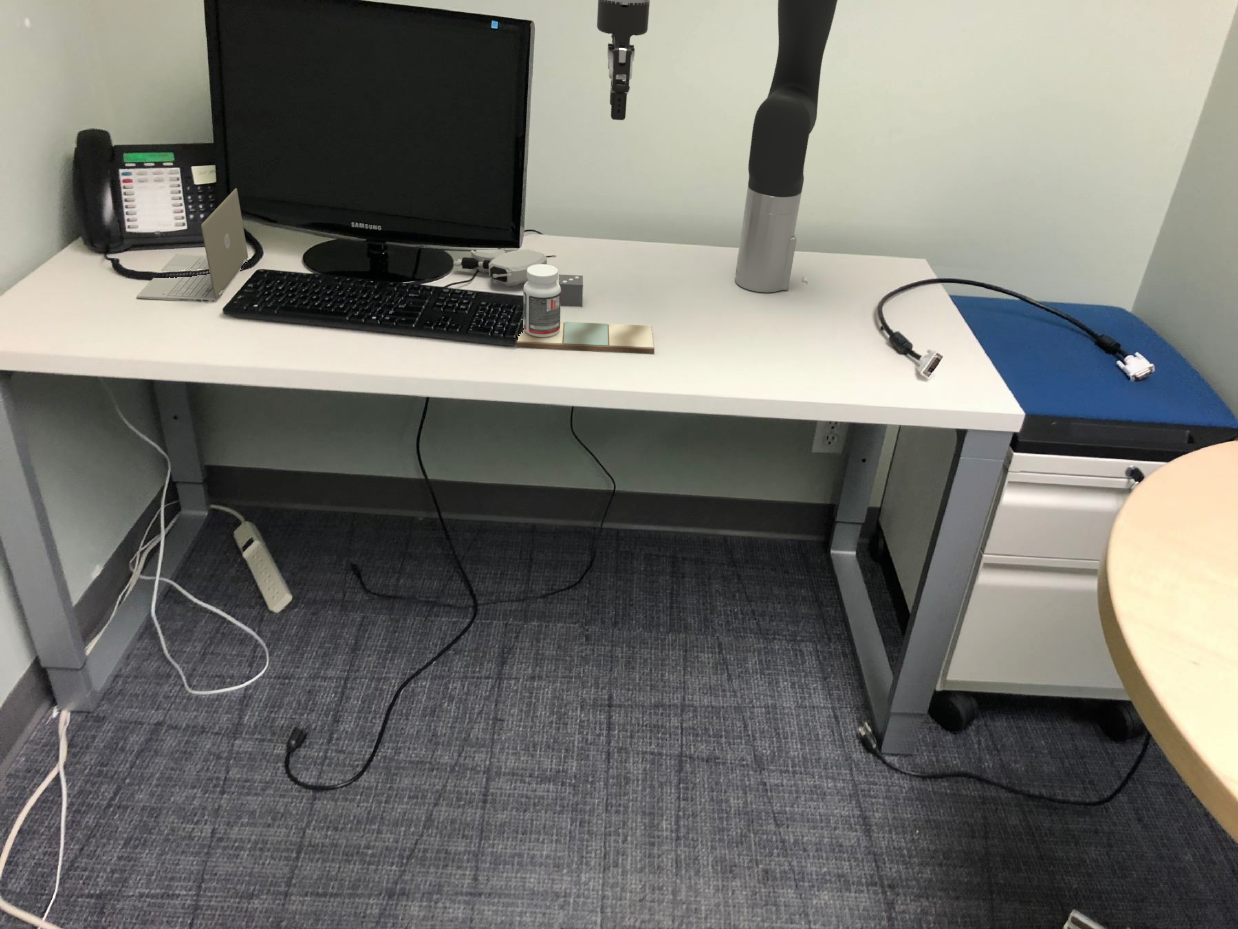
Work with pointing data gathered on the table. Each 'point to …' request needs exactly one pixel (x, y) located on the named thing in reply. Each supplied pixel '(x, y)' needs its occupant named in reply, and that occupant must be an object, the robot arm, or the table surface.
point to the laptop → (207, 259)
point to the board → (594, 338)
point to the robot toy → (503, 264)
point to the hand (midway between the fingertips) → (617, 112)
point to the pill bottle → (541, 301)
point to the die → (571, 290)
